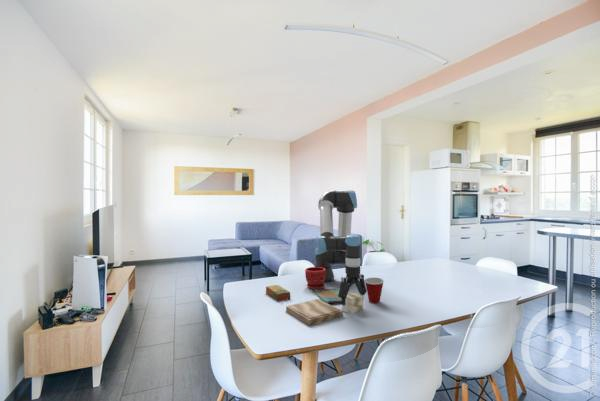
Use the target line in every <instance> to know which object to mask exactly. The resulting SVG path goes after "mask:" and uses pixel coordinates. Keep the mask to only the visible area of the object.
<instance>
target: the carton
mask: <svg viewBox="0 0 600 401" xmlns="http://www.w3.org/2000/svg"><path fill="white" fill-rule="evenodd" d="M265 293H266V294H267V295H268V296H270V297H271V298H273V299H274V300H275V301H276V302H280V301H286V300H289V299H291V292H290V291H288V290H287V289H285V288H284V287H282V286H280V285H278V284H276V285H268V286H266V287H265Z"/></svg>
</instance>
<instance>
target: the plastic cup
mask: <svg viewBox="0 0 600 401" xmlns="http://www.w3.org/2000/svg"><path fill="white" fill-rule="evenodd" d="M364 282H365V286H366V291H367V292H366V293H367V296H368V297H367V298H368V299H367V300H368V302H369V303H371V304H378V303H380V301H381V296H382V290H383V287H384V285H383V284H384V283H385V280H384V279H383V278H380V277H368V278H364Z"/></svg>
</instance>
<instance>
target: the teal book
mask: <svg viewBox="0 0 600 401" xmlns="http://www.w3.org/2000/svg"><path fill="white" fill-rule="evenodd" d="M339 290H340V287H335V288H326V289H324V288H322V289H313V293H314V294H315V295H316V296H317V297H318V299H319V300H321V301H323V302H326V303H328V304H330V305H332V306H333V305H342V298H340V297H338V294H339Z"/></svg>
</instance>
